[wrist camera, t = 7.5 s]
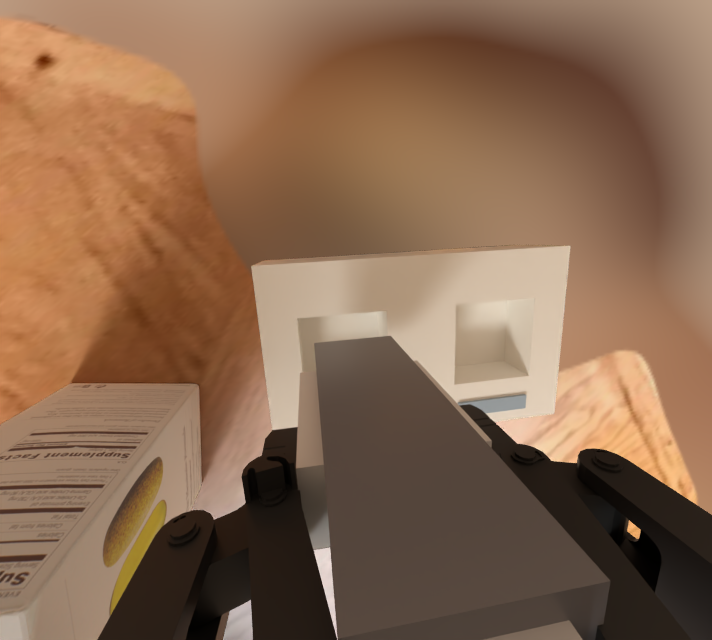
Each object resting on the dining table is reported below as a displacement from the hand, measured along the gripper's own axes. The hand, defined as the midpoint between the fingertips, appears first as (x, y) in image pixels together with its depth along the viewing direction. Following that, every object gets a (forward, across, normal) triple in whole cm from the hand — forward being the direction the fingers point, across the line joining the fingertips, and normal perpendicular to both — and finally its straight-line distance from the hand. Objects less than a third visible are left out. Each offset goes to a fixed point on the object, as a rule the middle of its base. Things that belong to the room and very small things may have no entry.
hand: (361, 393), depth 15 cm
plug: (+2, 0, 0) cm, 2 cm away
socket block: (+11, +5, 0) cm, 12 cm away
